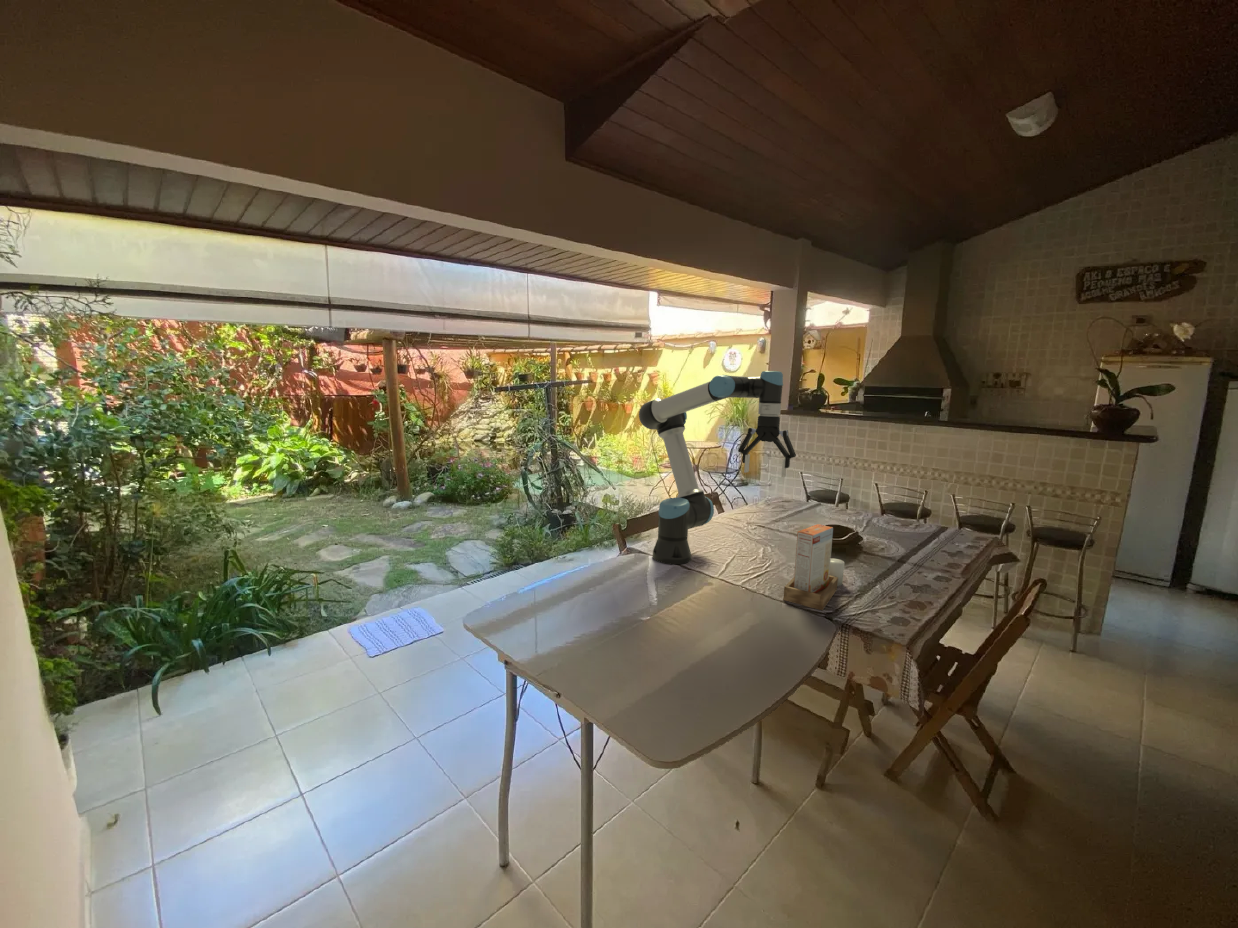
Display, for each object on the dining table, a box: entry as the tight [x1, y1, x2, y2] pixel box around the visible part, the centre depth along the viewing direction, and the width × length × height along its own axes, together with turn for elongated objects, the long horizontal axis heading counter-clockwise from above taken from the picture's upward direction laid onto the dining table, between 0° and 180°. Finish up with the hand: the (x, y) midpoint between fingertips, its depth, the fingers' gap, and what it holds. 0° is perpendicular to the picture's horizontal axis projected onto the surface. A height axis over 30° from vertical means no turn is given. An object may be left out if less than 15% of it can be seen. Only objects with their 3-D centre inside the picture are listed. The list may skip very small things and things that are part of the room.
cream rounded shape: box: [829, 558, 845, 587], centre depth 171 cm, size 6×6×8 cm
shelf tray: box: [782, 575, 838, 611], centre depth 161 cm, size 12×20×4 cm, turn 144°
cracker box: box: [793, 523, 834, 593], centre depth 160 cm, size 14×6×21 cm, turn 132°
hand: (764, 474), depth 175 cm, fingers open, 13 cm apart
